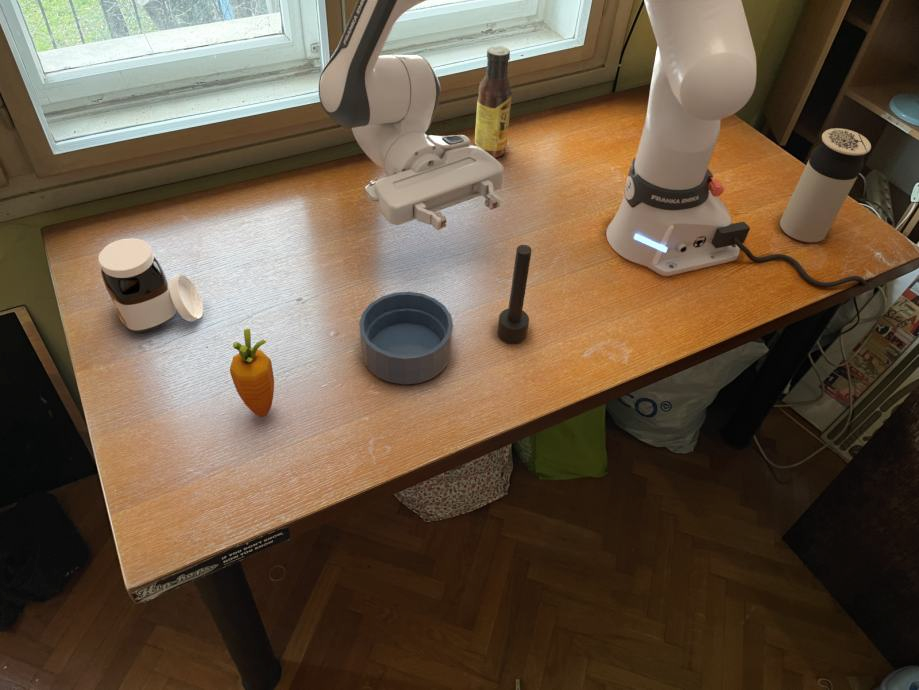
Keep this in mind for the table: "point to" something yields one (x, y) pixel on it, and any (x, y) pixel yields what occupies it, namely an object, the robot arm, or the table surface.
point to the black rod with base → (516, 301)
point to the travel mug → (824, 184)
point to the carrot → (253, 376)
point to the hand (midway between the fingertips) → (469, 214)
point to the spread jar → (145, 287)
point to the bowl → (406, 337)
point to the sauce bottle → (494, 103)
